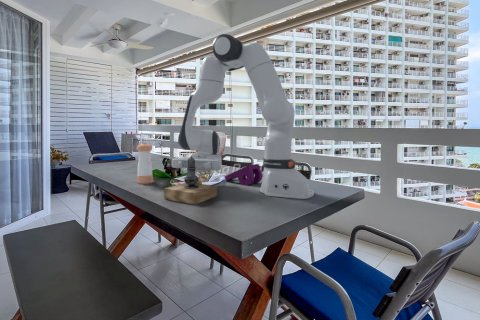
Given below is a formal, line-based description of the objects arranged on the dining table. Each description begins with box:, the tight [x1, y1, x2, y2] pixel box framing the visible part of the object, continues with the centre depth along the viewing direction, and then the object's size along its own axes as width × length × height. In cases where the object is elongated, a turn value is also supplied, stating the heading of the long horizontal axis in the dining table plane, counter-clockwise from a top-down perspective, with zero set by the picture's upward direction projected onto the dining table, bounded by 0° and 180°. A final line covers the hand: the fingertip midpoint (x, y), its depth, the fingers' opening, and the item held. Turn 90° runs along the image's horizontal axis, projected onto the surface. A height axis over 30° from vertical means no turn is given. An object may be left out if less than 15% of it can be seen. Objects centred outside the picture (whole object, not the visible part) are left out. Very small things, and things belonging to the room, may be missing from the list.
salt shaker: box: [136, 142, 154, 185], centre depth 130 cm, size 7×7×19 cm
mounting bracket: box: [224, 163, 263, 187], centre depth 135 cm, size 9×8×18 cm
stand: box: [163, 182, 218, 205], centre depth 103 cm, size 14×14×4 cm
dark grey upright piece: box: [183, 155, 200, 189], centre depth 102 cm, size 6×6×12 cm
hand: (192, 165), depth 104 cm, fingers open, 8 cm apart
